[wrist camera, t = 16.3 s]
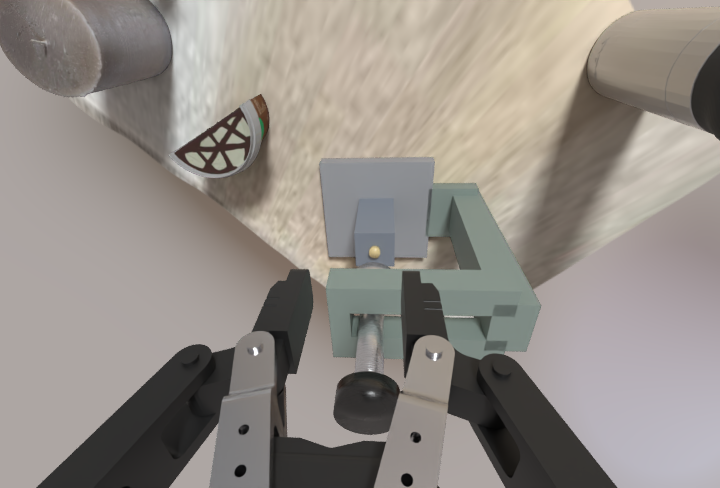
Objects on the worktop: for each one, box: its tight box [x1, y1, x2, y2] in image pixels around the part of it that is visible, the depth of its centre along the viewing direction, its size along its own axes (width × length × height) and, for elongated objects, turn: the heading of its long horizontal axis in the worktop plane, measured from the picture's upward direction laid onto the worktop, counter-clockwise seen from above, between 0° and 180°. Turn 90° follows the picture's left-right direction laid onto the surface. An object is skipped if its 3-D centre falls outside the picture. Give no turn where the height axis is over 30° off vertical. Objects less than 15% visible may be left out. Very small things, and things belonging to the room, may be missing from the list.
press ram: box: [334, 262, 400, 435], centre depth 32 cm, size 5×5×16 cm
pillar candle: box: [0, 0, 172, 97], centre depth 37 cm, size 10×10×15 cm
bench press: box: [319, 157, 541, 360], centre depth 43 cm, size 23×16×25 cm
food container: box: [169, 94, 269, 178], centre depth 45 cm, size 12×6×10 cm, turn 120°
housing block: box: [354, 198, 395, 266], centre depth 48 cm, size 5×5×11 cm
